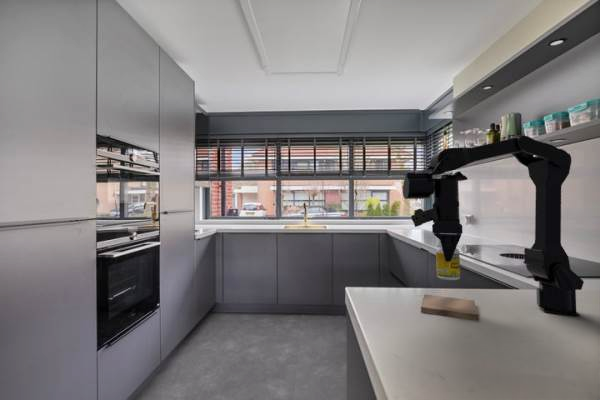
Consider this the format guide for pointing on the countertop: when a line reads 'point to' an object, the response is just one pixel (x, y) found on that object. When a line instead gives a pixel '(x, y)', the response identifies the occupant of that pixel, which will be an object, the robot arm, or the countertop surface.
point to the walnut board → (449, 306)
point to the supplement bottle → (447, 265)
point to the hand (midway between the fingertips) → (447, 259)
